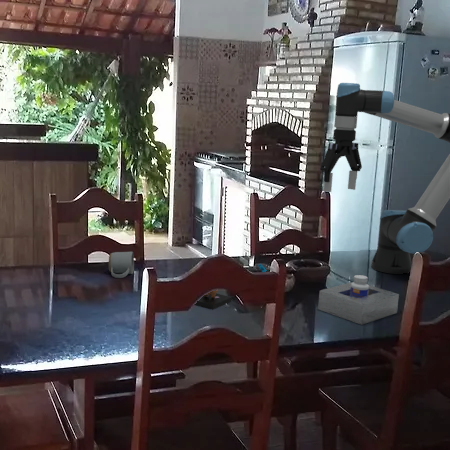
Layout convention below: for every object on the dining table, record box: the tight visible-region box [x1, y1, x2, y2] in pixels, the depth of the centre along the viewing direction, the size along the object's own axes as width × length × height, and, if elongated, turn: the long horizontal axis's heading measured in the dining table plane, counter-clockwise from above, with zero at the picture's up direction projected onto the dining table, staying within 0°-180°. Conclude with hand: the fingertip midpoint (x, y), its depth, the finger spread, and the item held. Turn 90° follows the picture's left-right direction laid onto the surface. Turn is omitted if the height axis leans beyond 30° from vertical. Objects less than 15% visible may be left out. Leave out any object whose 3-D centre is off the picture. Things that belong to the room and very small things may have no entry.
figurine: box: [194, 289, 232, 310], centre depth 195 cm, size 10×10×12 cm
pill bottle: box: [350, 274, 369, 299], centre depth 194 cm, size 5×5×10 cm
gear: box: [257, 263, 267, 273], centre depth 216 cm, size 11×6×10 cm
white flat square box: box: [317, 281, 400, 326], centre depth 194 cm, size 18×16×6 cm
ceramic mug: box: [108, 251, 135, 279], centre depth 221 cm, size 11×8×8 cm
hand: (339, 190), depth 224 cm, fingers open, 13 cm apart
